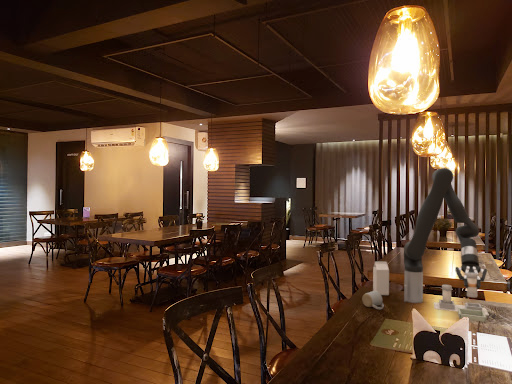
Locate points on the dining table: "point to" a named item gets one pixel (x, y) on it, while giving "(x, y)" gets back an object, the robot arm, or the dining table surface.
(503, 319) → the dining table surface
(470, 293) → the ball
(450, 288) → the fuse
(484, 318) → the parts tray
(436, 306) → the fuse board
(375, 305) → the ceramic mug
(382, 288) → the milk carton
